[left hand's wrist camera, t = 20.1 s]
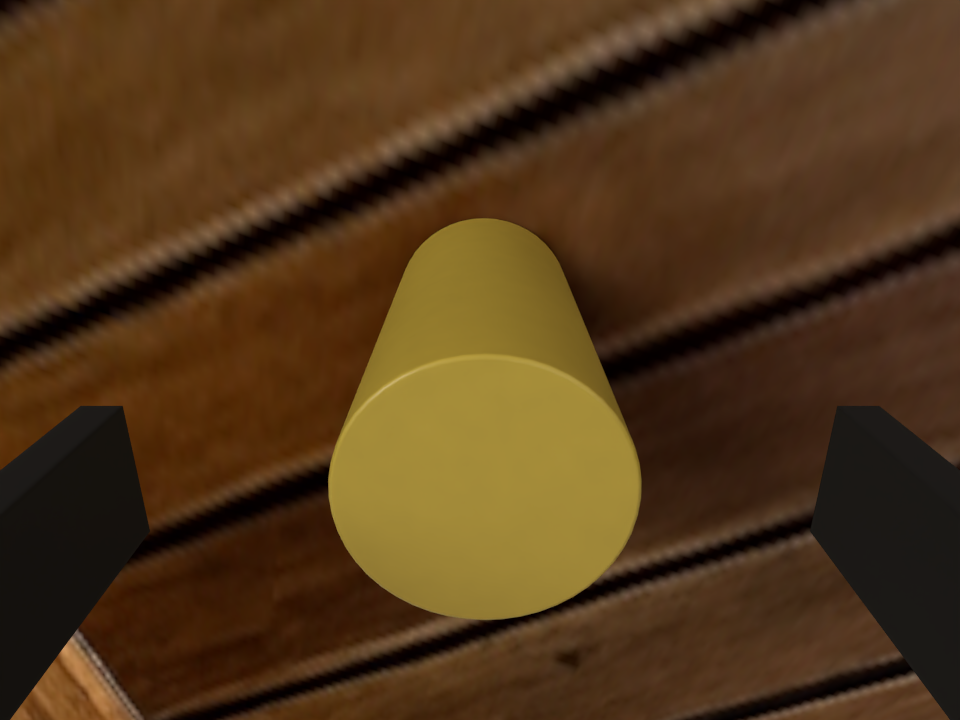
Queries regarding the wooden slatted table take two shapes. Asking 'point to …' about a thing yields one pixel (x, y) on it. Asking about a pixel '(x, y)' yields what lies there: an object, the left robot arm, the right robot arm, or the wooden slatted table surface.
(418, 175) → the wooden slatted table surface
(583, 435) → the cylinder
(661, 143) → the wooden slatted table surface
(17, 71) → the wooden slatted table surface
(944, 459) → the left robot arm
